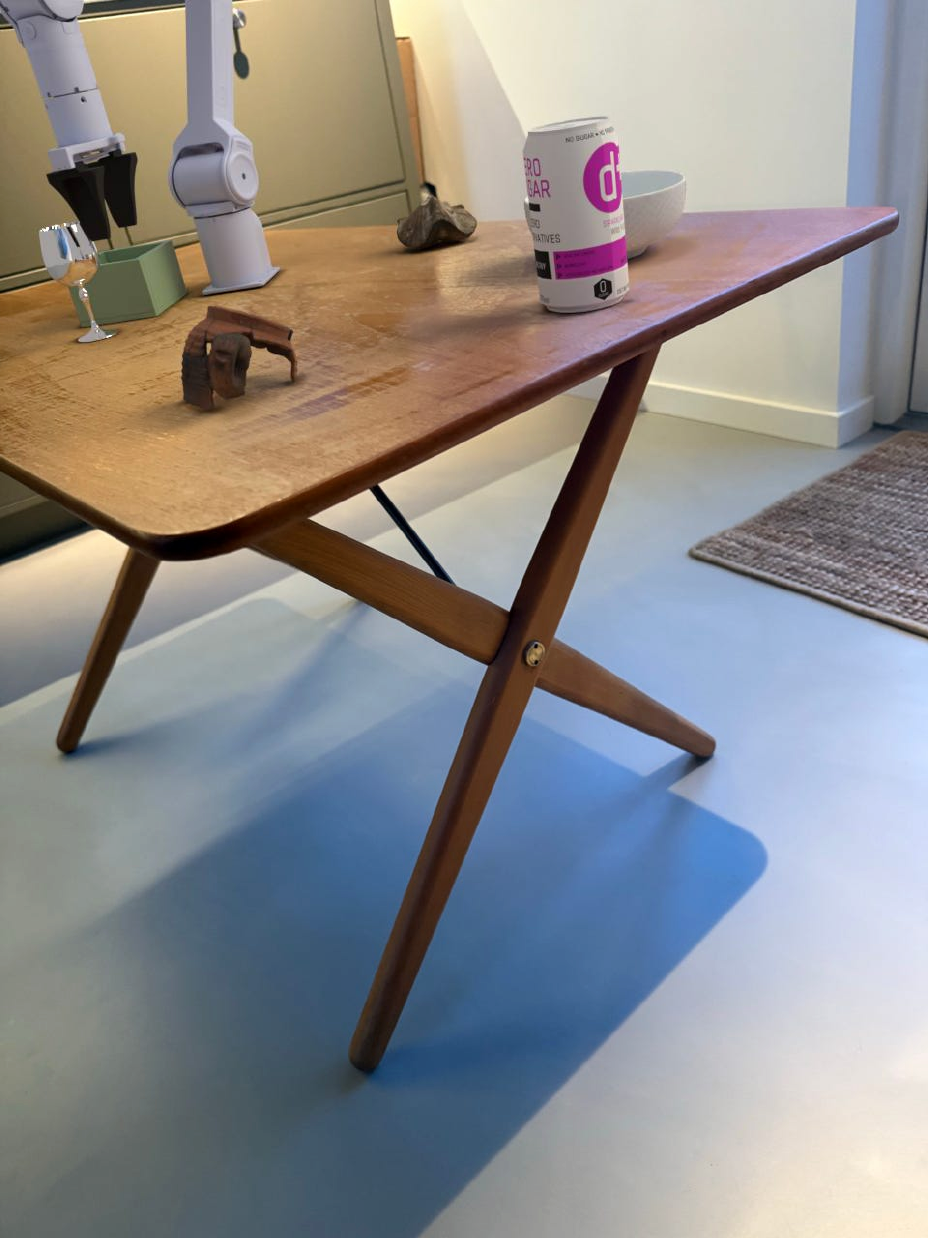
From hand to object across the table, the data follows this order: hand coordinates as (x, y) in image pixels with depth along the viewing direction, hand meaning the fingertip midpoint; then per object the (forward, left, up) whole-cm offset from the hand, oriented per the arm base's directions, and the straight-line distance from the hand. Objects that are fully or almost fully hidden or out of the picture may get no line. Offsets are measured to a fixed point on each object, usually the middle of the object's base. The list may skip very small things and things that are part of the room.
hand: (115, 232), depth 110 cm
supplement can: (+17, +50, -11) cm, 54 cm away
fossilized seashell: (-24, +32, -11) cm, 41 cm away
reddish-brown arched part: (+32, +21, -11) cm, 40 cm away
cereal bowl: (-2, +53, -11) cm, 54 cm away
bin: (-11, -5, -10) cm, 16 cm away
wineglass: (+1, -5, -11) cm, 12 cm away
